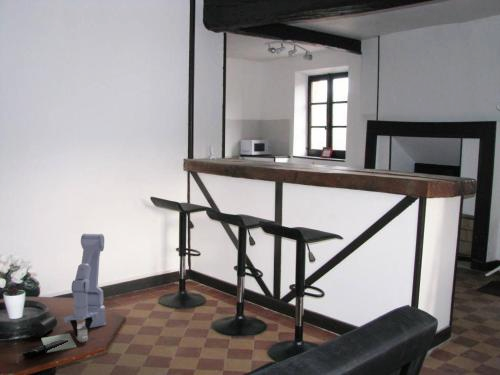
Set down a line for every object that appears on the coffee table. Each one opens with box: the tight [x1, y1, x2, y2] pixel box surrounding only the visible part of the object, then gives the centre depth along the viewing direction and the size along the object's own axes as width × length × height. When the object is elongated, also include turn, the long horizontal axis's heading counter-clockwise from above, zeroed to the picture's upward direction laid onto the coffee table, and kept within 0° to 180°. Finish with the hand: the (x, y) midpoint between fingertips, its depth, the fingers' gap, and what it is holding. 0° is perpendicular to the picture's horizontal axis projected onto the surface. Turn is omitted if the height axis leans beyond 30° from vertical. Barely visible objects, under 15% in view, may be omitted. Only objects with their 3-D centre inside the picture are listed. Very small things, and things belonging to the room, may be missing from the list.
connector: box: [75, 323, 89, 343], centre depth 226 cm, size 4×13×5 cm, turn 30°
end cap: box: [31, 315, 58, 338], centre depth 233 cm, size 10×7×7 cm
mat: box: [40, 333, 77, 353], centre depth 222 cm, size 12×16×1 cm
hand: (81, 335), depth 228 cm, fingers closed on connector, 4 cm apart
